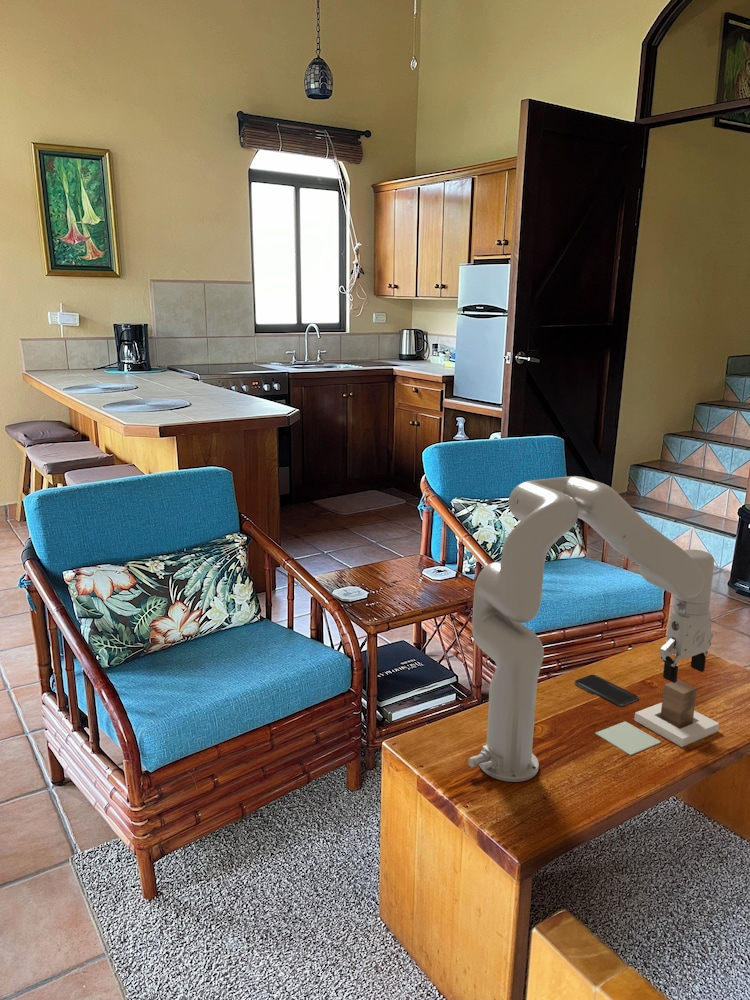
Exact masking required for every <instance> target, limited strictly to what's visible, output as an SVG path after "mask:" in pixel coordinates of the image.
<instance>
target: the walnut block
mask: <svg viewBox="0 0 750 1000" xmlns="http://www.w3.org/2000/svg"><path fill="white" fill-rule="evenodd" d="M697 691H698V688H697V687H695V686H693V685H690V684H688V683H687V682H685V681H682V680H680V679H677V682H675V683H673V682H671V681H669V682H667V683H665V684H663V691H662V702H661V703H662V708H661V717H660V718H661V719H662V720H664V721H666V722H668V723H670V724H672V725H674V726H675V727H677V728H679V729H681V728H683V727H686V726H688V725H691V724H693V716H694V711H695V706H696V699H697Z"/></svg>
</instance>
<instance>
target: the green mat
mask: <svg viewBox="0 0 750 1000" xmlns="http://www.w3.org/2000/svg"><path fill="white" fill-rule="evenodd" d="M594 733H595V735H596V736H598V737H600V738H601V739H603V740H605V741H606V742H608V743H609V744H611V745H612V746H614V747H616V748H617V749H619V750H621V751H623V752H624V753H625V754H627V755H629V756H633V755H636V754H637V753H640V752H642V751H644V750H647V749H649V748H652V747H655V746H657V745H659V744H661V743H662V741H661V740H659V739H657V738H656V737H653V736H652V735H651V734H648V733H646V732H645V731H643V730H641V729H640V728H639V727H636V726H635V725H633V724H631V723H630V722H627V721H625V720H624V721H623V722H619V723H617V724H615V725H611V726H609V727H607V728H604V729H601V730H599V731H596V732H594Z"/></svg>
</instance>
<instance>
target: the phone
mask: <svg viewBox="0 0 750 1000" xmlns="http://www.w3.org/2000/svg"><path fill="white" fill-rule="evenodd" d="M574 685H575V686H576V687H578V688H580V689H582V690H583V691H586V692H588V693H590V694H591V695H593V696H594V695H596V696H598V697H600V698H601V699H604V700H605V701H608V702H609V703H611V704H613V705H615V706H617V707H625V706H627V705H630V704H631V703H634V702H637V701H638V700H639V699H640V698H639V696H638V695H636V694H635V693H632V692H631V691H629V690H626V689H624V688H622V687H621V686H618V685H617V684H614V683H613V682H610V681H608V680H607V679H604V678H602V677H601V676H598V675H597V674H588V675H586V676H584V677H581V678H579V679H576V680H574Z"/></svg>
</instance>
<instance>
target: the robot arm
mask: <svg viewBox="0 0 750 1000" xmlns="http://www.w3.org/2000/svg"><path fill="white" fill-rule="evenodd" d="M508 507H509V511H510V513H511V514H512V515H513V516H514V518H516V519H517V520H519V521H520V522H519V523H518V524H517V525H516V526H515V527H514V528H513V529H512V530H511V531H510V533H508V535H507V537H506V538H505V541H504V543H503V545H502V551H501V557H500V558H501V559H500V561H493V562H490V563H489V564H487V565H485V566H484V567H483V568H482V570H480V572H479V573H478V575H477V578H476V580H475V584H474V589H473V590H474V591H473V601H472V602H473V603H472V621H471V633H472V638H473V641H474V642H475V644H476V646H477V647H479V649H480V650H481V652H483V653H485V654H486V656H488V657H489V658H490V659H491V660H493V661H494V663H495V665H496V668H495V672H494V673H493V675H492V678H491V680H490V683H489V689H488V691H489V692H488V715H487V727H486V728H487V729H486V731H487V732H486V744H484V745H482V750H481V751H480V752H479V754H478V755H477V754H476V755H473V756H470V757H468V758H467V763H468V765H469V767H470V768H474V767H477V766H479V767H480V769H481V770H482V771H483V772H484V773H485V774H486V775H488V776H490V777H491V778H493V779H496V780H498V781H503V782H510V783H512V782H513V783H519V782H524V781H528V780H530V779H532V778H534V777H535V776H536V775H537V774H538V772H539V767H540V765H539V764H540V763H539V760H538V758H537V756H536V755H535V754H534V753H533V743H534V742H533V741H534V729H535V728H534V727H535V714H536V700H537V691H538V690H537V687H538V681H539V676H540V671H541V669H542V666H543V661H544V655H545V649H544V645H543V643H542V640H541V639H540V638H539V637H538V635H537V634H536V633H535V632H534V631H533V630H531V629H530V628H529V627H527V626H526V625H525V624H523V623H529V622H532V620H534V619H535V618H536V617H537V616H538V614H539V612H540V608H541V604H542V595H543V583H544V572H545V564H546V557H547V555H548V553H549V551H550V549H551V547H552V546H553V545H554V544H555V542H557V541H558V540H559V539H560V538H561V537H562V536H564V535H565V534H566V533H568V532H569V531H570V530H571V529H572V528H573V527H574V526H575V524H576V522H577V520H578V519H580V520H582V521H583V522H584V523H586V524H588V525H589V527H591V528H592V529H593V530H594V531H595V532H596V533H597V534H598V535H599V536H600V537H602V539H603V540H604V541H606V542H607V543H608V544H609V546H611V548H612V549H614V550H615V551H617V552H618V553H619V554H620V555H622V556H624V557H625V558H626V559H628V560H630V561H633V562H634V563H637V564H638V565H639V573H640V576H641V577H642V578H643V580H645V581H646V582H647V583H649V584H651V585H653V586H655V587H657V588H658V589H662V590H664V591H665V592H668V593H670V594H673V599H672V606H671V607H672V608H671V609H672V611H671V615H670V619H669V622H668V627H667V633H666V640H665V641H666V642H665V643H664V644H663V645H662V646H661V647H660V649H659V655H660V658H661V660H662V662H663V664H664V665H663V674H662V678H663V679H665V680H667V681H669V682H673V683H675V682H677V680H678V673H679V672H678V670H679V666H677V665H678V663H679V662H680V660H681V659H683V660H686V659H689V658H691V661H690V667H691V668H692V669H694V670H696V671H698V672H700V673H704V672H705V669H706V660H707V659H706V658H707V656H708V653H709V651H708V650H709V649H710V647H711V646H712V645H711V644H712V643H711V642H712V639H713V638H714V634H713V632H712V616H711V611H710V605H711V595H712V586H713V577H714V576H713V575H714V567H715V559H714V557H713V555H712V554H711V553H710V552H708V551H705V550H702V549H693V548H692V549H691V548H690V549H683V548H681V547H680V546H679V545H677V544H676V543H675V542H674V541H672V540H671V539H669V538H668V537H667V536H665V535H664V534H663V533H661V532H660V530H658V529H657V528H655V527H654V526H652V525H651V524H649V523H648V522H647V521H646V520H645V519H643V518H642V516H641V515H640V514H639V513H638V512H637V511H636V510H635V509H634V508H633V507H632V506H631V505H630V504H629V503H628V502H627V501H626V500H625V499H624V498H623V497H622V496H621V495H620V494H619V492H617V491H616V490H615V489H613V488H612V487H611V486H609V485H607V484H605V483H603V482H601V481H598V480H597V481H596V480H593V479H590V478H587V477H585V476H577V475H573V476H572V475H570V476H559V477H552V478H551V477H550V478H542V479H532V480H526V481H524V482H520V483H519V484H518V485H516V487H514V488H513V490H511V493H510V494H509V499H508ZM671 656H674V658H672V657H671Z"/></svg>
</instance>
